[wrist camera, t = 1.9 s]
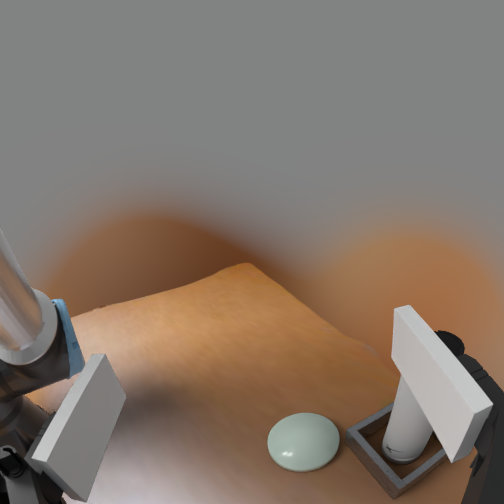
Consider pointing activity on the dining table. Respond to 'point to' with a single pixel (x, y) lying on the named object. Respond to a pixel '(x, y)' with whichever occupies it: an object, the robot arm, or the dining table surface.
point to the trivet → (303, 442)
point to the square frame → (377, 464)
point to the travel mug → (412, 417)
